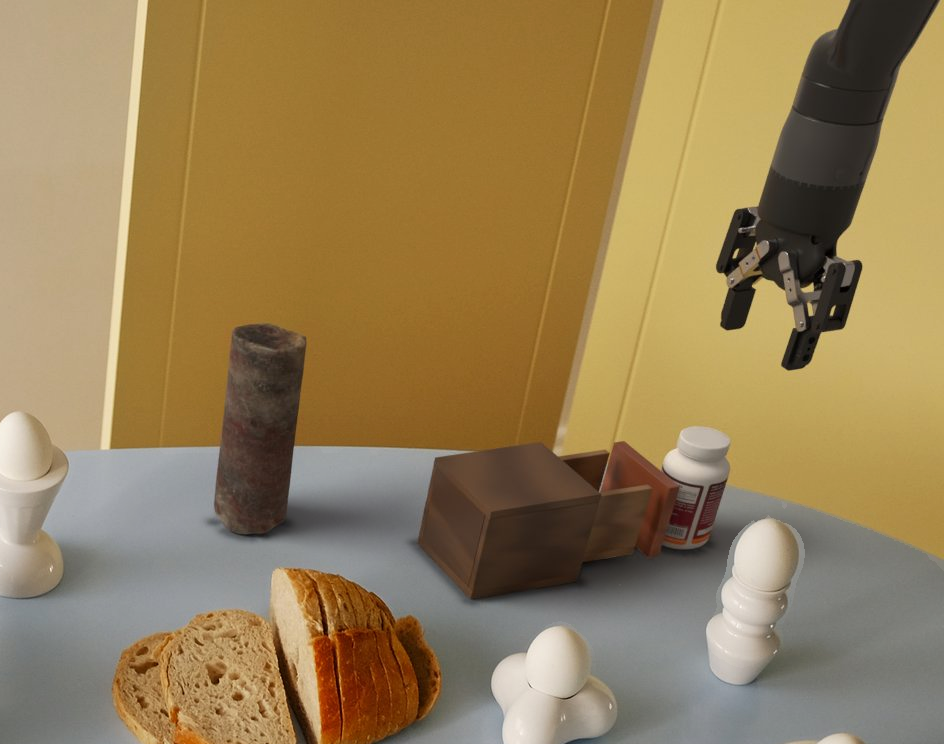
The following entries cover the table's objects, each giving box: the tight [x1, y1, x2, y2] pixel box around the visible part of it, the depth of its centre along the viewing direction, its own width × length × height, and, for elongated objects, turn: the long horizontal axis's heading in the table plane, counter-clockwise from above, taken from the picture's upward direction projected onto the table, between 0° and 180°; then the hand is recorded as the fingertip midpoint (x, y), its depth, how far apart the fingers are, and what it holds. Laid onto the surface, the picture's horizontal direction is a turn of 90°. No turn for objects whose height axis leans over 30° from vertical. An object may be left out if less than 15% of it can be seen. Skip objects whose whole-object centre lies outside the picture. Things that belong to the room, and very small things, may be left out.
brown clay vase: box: [213, 322, 307, 535], centre depth 172 cm, size 8×7×20 cm
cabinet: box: [416, 441, 601, 600], centre depth 169 cm, size 12×11×10 cm
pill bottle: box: [660, 425, 732, 550], centre depth 173 cm, size 6×6×11 cm
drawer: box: [557, 440, 680, 563], centre depth 172 cm, size 12×9×8 cm
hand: (761, 347), depth 157 cm, fingers open, 8 cm apart
